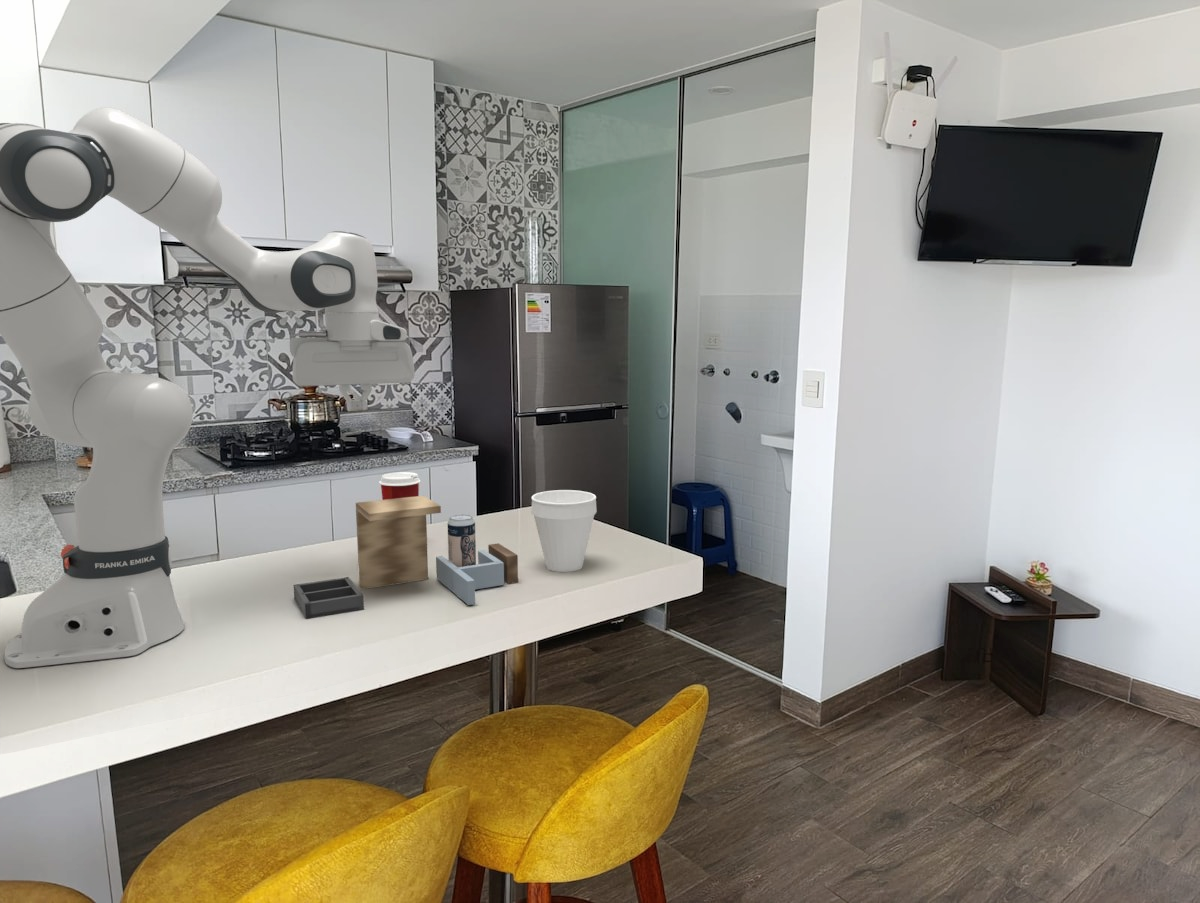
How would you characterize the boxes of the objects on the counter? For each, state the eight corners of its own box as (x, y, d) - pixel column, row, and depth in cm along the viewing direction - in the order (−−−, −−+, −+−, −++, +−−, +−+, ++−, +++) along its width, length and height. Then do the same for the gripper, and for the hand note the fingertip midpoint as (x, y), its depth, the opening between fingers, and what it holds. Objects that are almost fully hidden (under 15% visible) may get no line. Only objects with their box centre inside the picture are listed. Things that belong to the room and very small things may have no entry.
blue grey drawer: (468, 605, 137) (467, 581, 136) (436, 578, 151) (435, 556, 150) (520, 596, 141) (519, 573, 140) (484, 570, 155) (484, 549, 155)
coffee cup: (429, 542, 176) (427, 472, 174) (411, 553, 168) (409, 479, 166) (392, 540, 178) (389, 470, 176) (373, 550, 170) (370, 477, 168)
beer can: (471, 587, 147) (469, 520, 145) (445, 586, 147) (443, 519, 146) (480, 579, 151) (478, 514, 149) (454, 577, 152) (453, 513, 150)
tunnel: (373, 603, 138) (369, 513, 136) (359, 587, 147) (355, 502, 144) (443, 592, 144) (440, 505, 142) (426, 577, 152) (423, 495, 150)
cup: (574, 580, 151) (574, 506, 148) (519, 570, 157) (517, 498, 155) (608, 563, 161) (608, 493, 159) (554, 554, 167) (554, 487, 165)
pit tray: (306, 618, 131) (305, 604, 131) (294, 598, 141) (293, 584, 140) (364, 609, 136) (363, 595, 135) (348, 590, 145) (348, 576, 145)
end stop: (507, 583, 149) (507, 556, 148) (488, 570, 156) (488, 544, 156) (518, 582, 150) (517, 555, 149) (498, 569, 157) (498, 543, 157)
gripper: (291, 330, 136) (296, 415, 138) (415, 330, 145) (418, 409, 148) (286, 330, 141) (290, 411, 144) (405, 329, 151) (408, 406, 153)
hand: (356, 410), depth 146 cm, fingers closed
